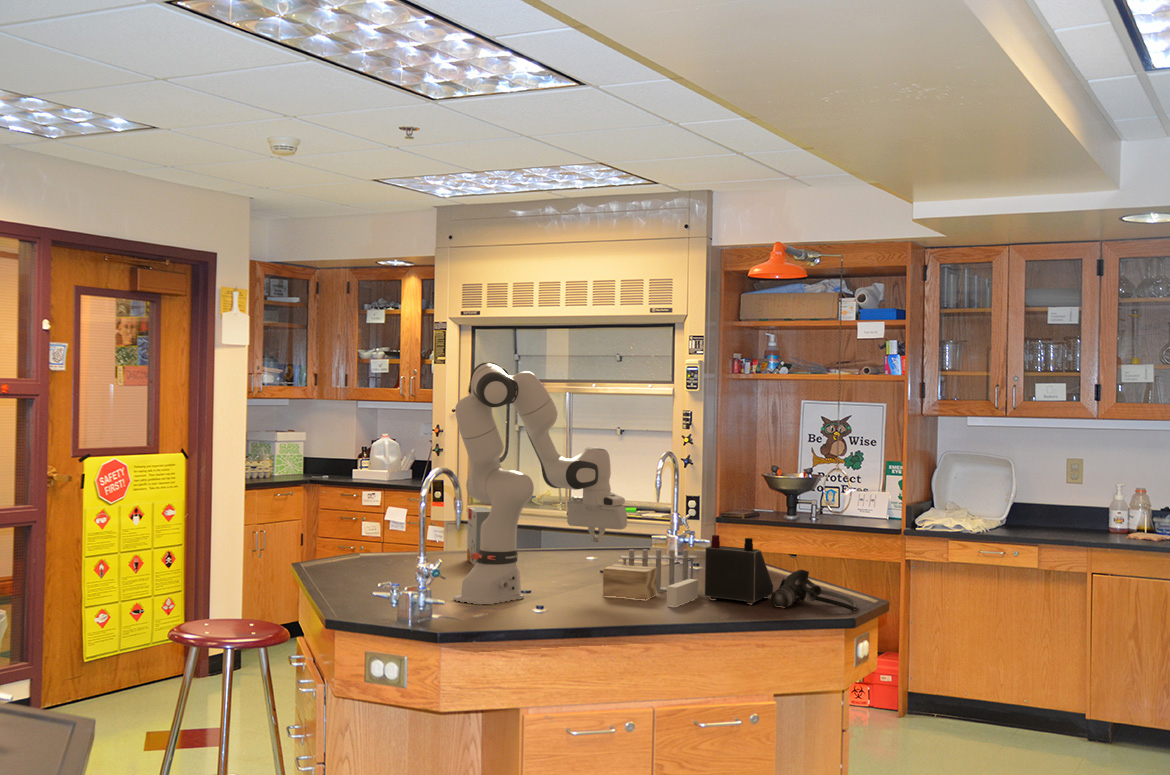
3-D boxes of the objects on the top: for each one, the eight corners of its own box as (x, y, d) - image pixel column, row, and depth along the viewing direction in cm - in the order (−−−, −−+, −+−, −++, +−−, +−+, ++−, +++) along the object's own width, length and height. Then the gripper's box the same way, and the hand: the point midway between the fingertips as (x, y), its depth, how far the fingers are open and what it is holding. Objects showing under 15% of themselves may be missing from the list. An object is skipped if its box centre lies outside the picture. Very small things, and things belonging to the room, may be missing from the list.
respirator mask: (776, 588, 325) (807, 553, 321) (829, 636, 318) (861, 602, 315) (763, 598, 306) (796, 562, 303) (819, 650, 300) (853, 613, 296)
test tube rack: (694, 589, 335) (694, 548, 335) (697, 591, 331) (698, 550, 331) (618, 589, 332) (619, 548, 332) (620, 592, 327) (621, 550, 328)
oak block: (645, 601, 313) (646, 572, 313) (602, 597, 318) (603, 568, 318) (656, 596, 322) (656, 567, 322) (614, 592, 327) (614, 564, 327)
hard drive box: (466, 560, 387) (467, 507, 388) (486, 559, 390) (487, 506, 390) (474, 566, 373) (475, 511, 373) (495, 565, 375) (496, 511, 375)
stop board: (676, 607, 303) (676, 587, 304) (666, 606, 305) (667, 586, 305) (697, 599, 317) (698, 579, 317) (688, 598, 319) (689, 578, 319)
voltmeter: (773, 598, 322) (774, 534, 322) (754, 606, 308) (755, 539, 308) (725, 592, 330) (726, 530, 330) (704, 600, 316) (705, 535, 316)
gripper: (563, 497, 329) (563, 540, 329) (620, 500, 319) (620, 545, 319) (573, 495, 335) (573, 537, 335) (629, 498, 324) (629, 542, 324)
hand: (596, 541), depth 327 cm, fingers closed
